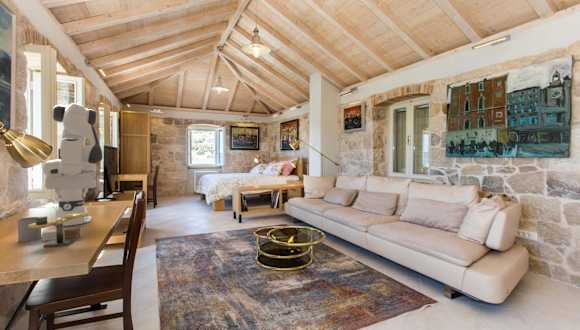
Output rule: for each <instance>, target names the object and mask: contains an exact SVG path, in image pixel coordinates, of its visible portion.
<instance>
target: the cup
mask: <svg viewBox="0 0 580 330" xmlns="http://www.w3.org/2000/svg"><path fill="white" fill-rule="evenodd" d="M37 217H38V216H30V217H23V218H19V219H17V233H18V234H17V236H18V237H17V241H18V242H31V241H35V240H39V239H42V228H28V225H30V224H33V223H36V218H37Z"/></svg>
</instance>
